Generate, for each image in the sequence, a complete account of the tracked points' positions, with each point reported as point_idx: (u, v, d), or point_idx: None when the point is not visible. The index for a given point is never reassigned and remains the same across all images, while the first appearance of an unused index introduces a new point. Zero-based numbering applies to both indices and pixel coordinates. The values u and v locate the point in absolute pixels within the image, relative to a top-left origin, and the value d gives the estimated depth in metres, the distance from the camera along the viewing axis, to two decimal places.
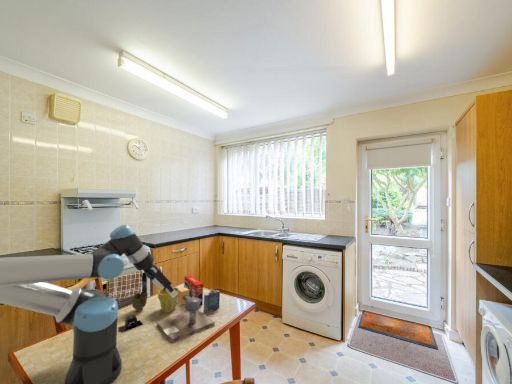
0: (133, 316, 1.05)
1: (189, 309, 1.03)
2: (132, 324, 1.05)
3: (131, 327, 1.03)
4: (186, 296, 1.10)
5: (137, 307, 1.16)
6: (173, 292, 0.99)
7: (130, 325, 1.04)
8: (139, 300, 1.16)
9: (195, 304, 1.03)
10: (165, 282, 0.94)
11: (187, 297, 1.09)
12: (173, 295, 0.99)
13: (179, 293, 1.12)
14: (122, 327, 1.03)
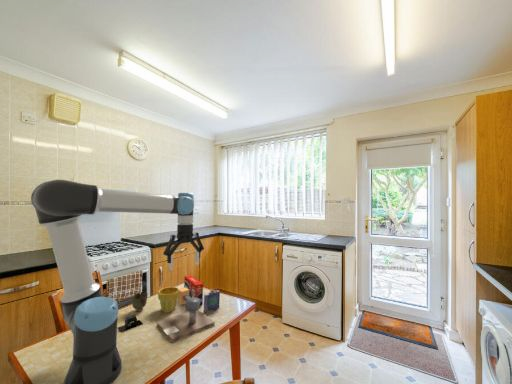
0: (133, 316, 1.05)
1: (189, 309, 1.03)
2: (132, 324, 1.05)
3: (131, 327, 1.03)
4: (186, 296, 1.10)
5: (137, 307, 1.16)
6: None
7: (130, 325, 1.04)
8: (139, 300, 1.16)
9: (195, 304, 1.03)
10: None
11: (187, 297, 1.09)
12: None
13: (179, 293, 1.12)
14: (122, 327, 1.03)
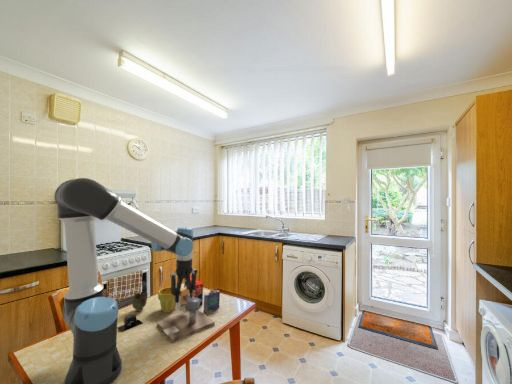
0: (132, 315, 1.06)
1: (189, 309, 1.03)
2: (131, 323, 1.05)
3: (131, 326, 1.03)
4: (186, 296, 1.10)
5: (137, 307, 1.16)
6: None
7: (129, 324, 1.04)
8: (139, 300, 1.16)
9: (195, 304, 1.03)
10: None
11: (187, 297, 1.09)
12: None
13: None
14: (121, 327, 1.03)
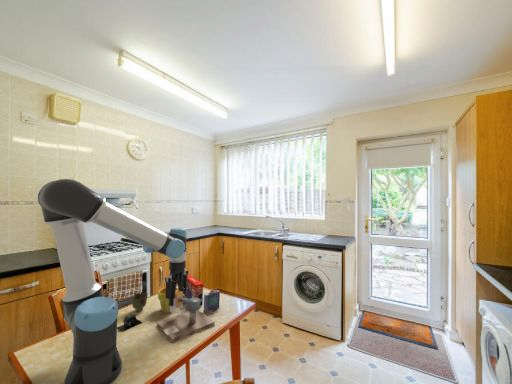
0: (132, 315, 1.06)
1: (192, 309, 1.03)
2: (131, 323, 1.05)
3: (131, 326, 1.04)
4: (181, 298, 1.08)
5: (137, 307, 1.16)
6: None
7: (129, 324, 1.05)
8: (139, 300, 1.16)
9: (197, 303, 1.04)
10: None
11: (183, 299, 1.08)
12: None
13: None
14: (121, 327, 1.03)
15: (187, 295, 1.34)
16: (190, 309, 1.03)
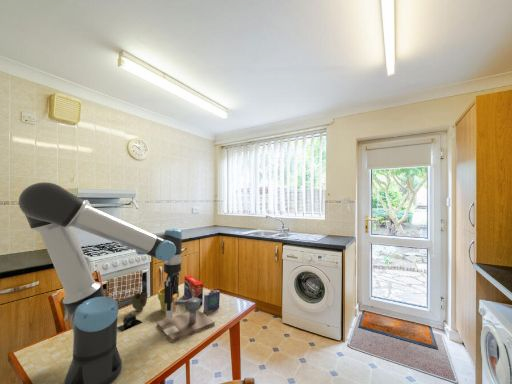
0: (132, 315, 1.06)
1: (194, 309, 1.03)
2: (131, 323, 1.06)
3: (131, 326, 1.04)
4: (178, 300, 1.06)
5: (137, 307, 1.16)
6: None
7: (129, 324, 1.05)
8: (139, 300, 1.16)
9: (199, 302, 1.05)
10: None
11: (181, 301, 1.05)
12: None
13: None
14: (121, 327, 1.03)
15: (187, 295, 1.34)
16: (193, 309, 1.03)
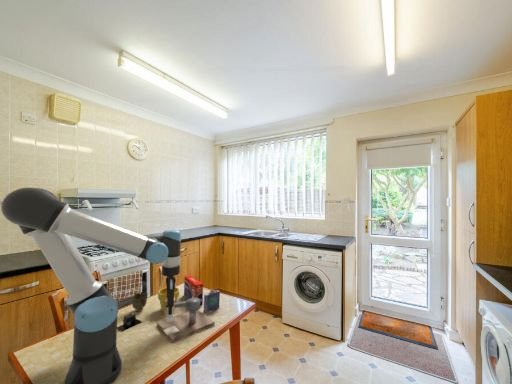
0: (131, 315, 1.06)
1: (197, 308, 1.04)
2: (130, 323, 1.06)
3: (130, 325, 1.04)
4: (177, 303, 1.03)
5: (137, 307, 1.16)
6: None
7: (129, 324, 1.05)
8: (139, 300, 1.16)
9: (199, 301, 1.06)
10: None
11: (181, 302, 1.04)
12: None
13: None
14: (121, 327, 1.03)
15: (187, 295, 1.34)
16: (195, 308, 1.03)
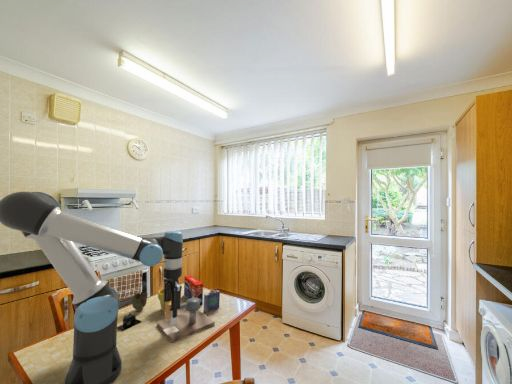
0: (131, 315, 1.06)
1: (198, 307, 1.05)
2: (130, 322, 1.06)
3: (130, 325, 1.04)
4: None
5: (137, 307, 1.16)
6: None
7: (129, 324, 1.05)
8: (139, 300, 1.16)
9: None
10: None
11: (182, 304, 1.02)
12: None
13: None
14: (120, 326, 1.03)
15: (187, 295, 1.34)
16: (197, 308, 1.04)
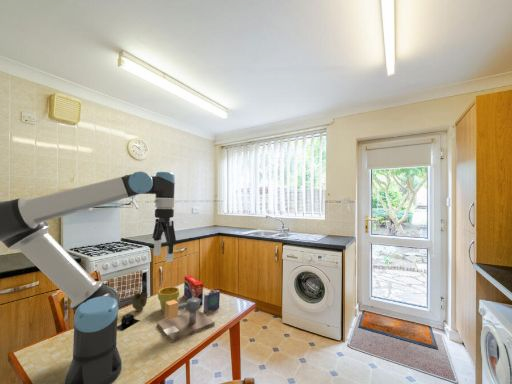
0: (129, 314, 1.07)
1: (198, 307, 1.05)
2: (129, 322, 1.06)
3: (129, 324, 1.05)
4: (179, 305, 1.01)
5: (137, 307, 1.16)
6: None
7: (127, 323, 1.05)
8: (139, 300, 1.16)
9: None
10: None
11: (182, 304, 1.02)
12: None
13: (173, 307, 0.97)
14: (119, 326, 1.03)
15: (187, 295, 1.34)
16: (197, 308, 1.04)
